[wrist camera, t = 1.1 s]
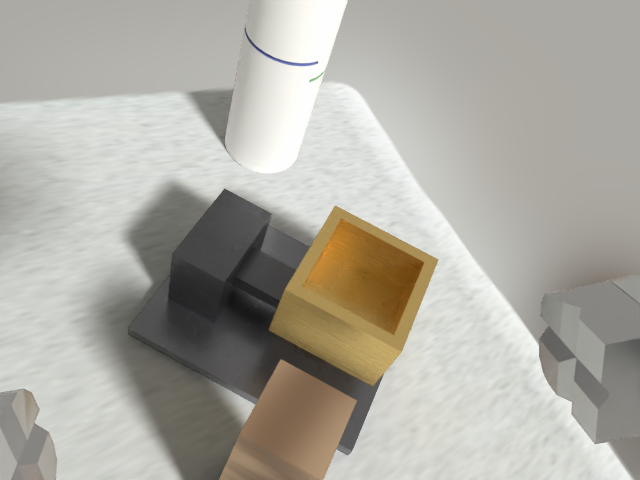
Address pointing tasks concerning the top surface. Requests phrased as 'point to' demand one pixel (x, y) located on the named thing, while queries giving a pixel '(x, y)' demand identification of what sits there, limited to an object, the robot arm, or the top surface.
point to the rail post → (290, 429)
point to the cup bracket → (287, 303)
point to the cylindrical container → (279, 79)
